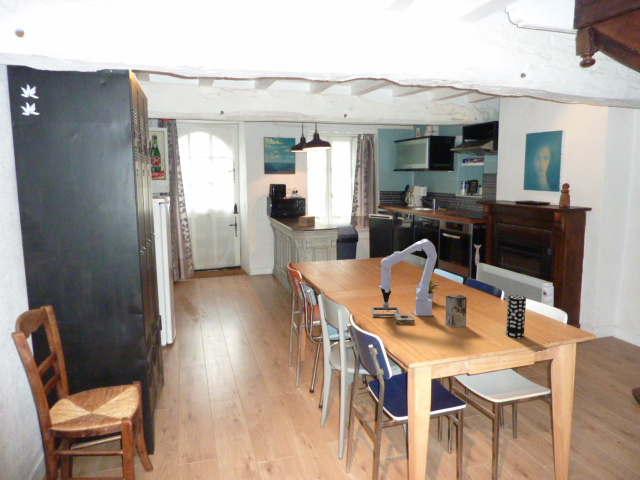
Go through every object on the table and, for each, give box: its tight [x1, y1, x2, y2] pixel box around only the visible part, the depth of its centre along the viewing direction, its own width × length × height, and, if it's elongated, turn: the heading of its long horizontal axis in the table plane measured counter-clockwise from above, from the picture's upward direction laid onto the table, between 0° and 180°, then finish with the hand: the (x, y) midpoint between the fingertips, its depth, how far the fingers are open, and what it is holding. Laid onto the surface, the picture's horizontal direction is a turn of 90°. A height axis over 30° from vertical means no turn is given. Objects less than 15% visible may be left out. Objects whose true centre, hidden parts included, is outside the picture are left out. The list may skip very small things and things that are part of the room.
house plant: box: [428, 277, 440, 303], centre depth 296 cm, size 14×14×16 cm
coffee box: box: [445, 294, 468, 328], centre depth 250 cm, size 9×6×16 cm
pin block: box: [393, 313, 416, 325], centre depth 258 cm, size 10×10×2 cm
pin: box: [382, 297, 390, 308], centre depth 271 cm, size 4×4×8 cm
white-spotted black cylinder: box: [505, 294, 527, 339], centre depth 233 cm, size 8×8×20 cm
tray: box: [370, 306, 402, 317], centre depth 272 cm, size 16×14×2 cm
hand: (385, 301), depth 272 cm, fingers closed on pin, 4 cm apart
